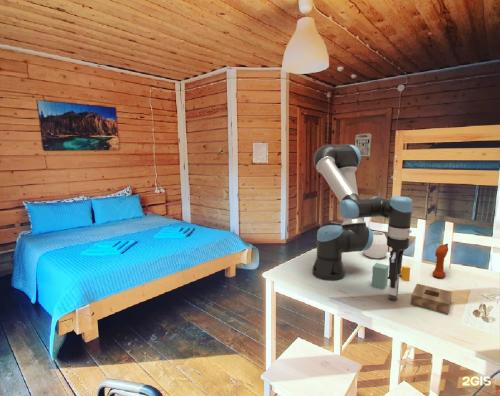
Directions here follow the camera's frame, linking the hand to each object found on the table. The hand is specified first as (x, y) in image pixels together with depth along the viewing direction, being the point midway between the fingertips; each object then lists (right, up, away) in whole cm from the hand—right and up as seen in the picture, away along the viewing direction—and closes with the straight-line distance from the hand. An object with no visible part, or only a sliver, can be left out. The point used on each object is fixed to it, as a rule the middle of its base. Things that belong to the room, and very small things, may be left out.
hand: (393, 293), depth 116 cm
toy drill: (+36, +2, +25) cm, 44 cm away
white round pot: (+13, +5, +48) cm, 50 cm away
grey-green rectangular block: (0, -1, +12) cm, 12 cm away
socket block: (+13, -3, -3) cm, 14 cm away
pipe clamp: (+14, +1, +22) cm, 26 cm away
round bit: (0, -2, 0) cm, 2 cm away
